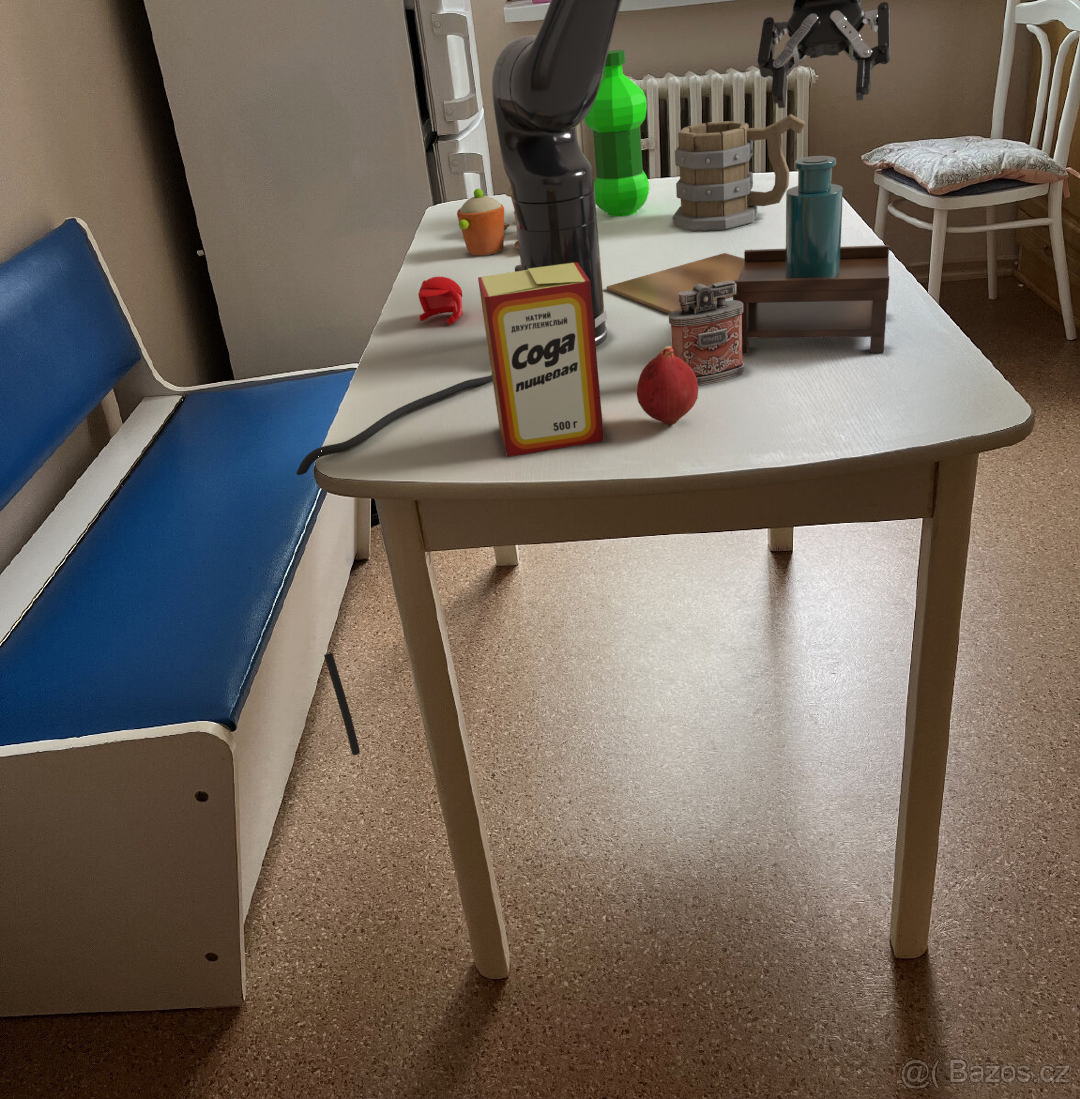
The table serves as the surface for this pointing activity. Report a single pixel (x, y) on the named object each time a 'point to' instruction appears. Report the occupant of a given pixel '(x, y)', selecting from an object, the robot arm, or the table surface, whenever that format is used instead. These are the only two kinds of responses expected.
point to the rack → (815, 297)
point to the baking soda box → (543, 357)
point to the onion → (667, 387)
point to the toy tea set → (483, 224)
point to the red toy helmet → (440, 298)
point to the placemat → (679, 281)
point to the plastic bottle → (618, 140)
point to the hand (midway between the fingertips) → (819, 100)
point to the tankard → (726, 173)
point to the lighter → (709, 332)
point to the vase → (813, 221)
